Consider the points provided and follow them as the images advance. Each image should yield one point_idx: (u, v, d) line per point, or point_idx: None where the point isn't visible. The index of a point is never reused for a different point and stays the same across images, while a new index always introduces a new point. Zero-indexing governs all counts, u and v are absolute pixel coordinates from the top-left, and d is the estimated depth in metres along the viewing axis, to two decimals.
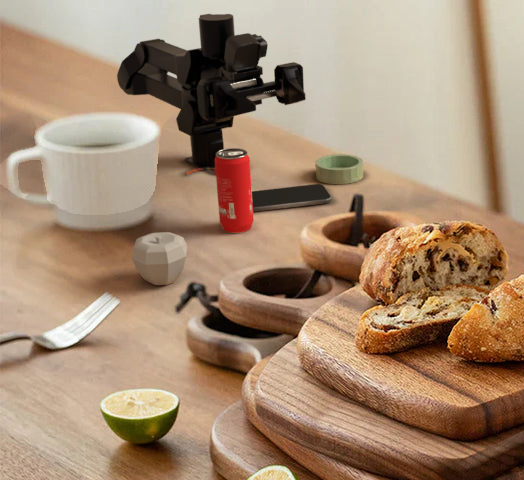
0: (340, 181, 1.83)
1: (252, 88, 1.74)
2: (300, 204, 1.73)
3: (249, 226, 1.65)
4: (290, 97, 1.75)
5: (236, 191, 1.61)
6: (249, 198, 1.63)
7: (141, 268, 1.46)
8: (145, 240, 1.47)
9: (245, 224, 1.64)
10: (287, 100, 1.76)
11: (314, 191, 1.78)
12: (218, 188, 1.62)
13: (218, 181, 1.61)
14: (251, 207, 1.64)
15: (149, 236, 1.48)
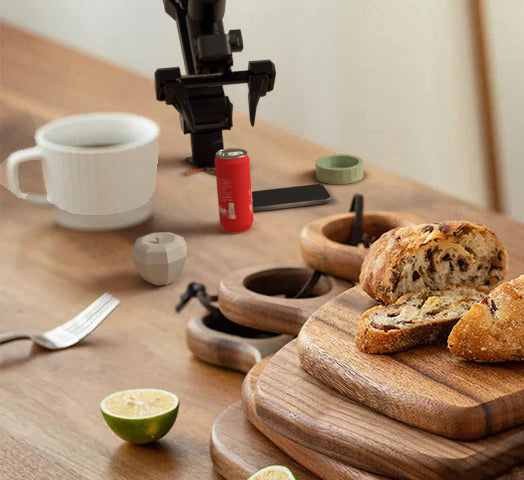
0: (340, 181, 1.83)
1: (215, 80, 1.69)
2: (300, 204, 1.73)
3: (249, 226, 1.65)
4: None
5: (236, 191, 1.61)
6: (249, 198, 1.63)
7: (141, 268, 1.46)
8: (145, 240, 1.47)
9: (245, 224, 1.64)
10: (248, 99, 1.71)
11: (314, 191, 1.78)
12: (218, 188, 1.62)
13: (218, 181, 1.61)
14: (251, 207, 1.64)
15: (149, 236, 1.48)
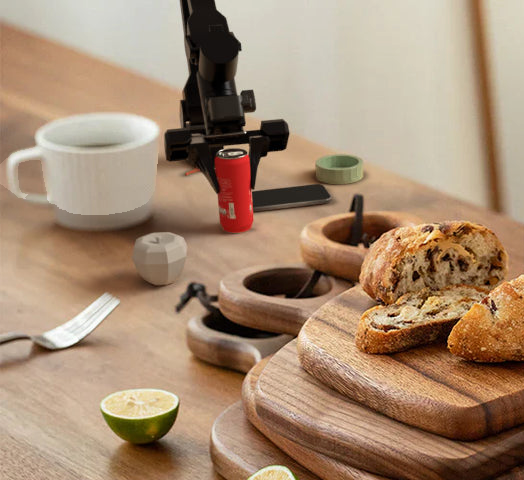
0: (340, 181, 1.83)
1: (226, 141, 1.64)
2: (300, 204, 1.73)
3: (249, 226, 1.65)
4: None
5: (236, 191, 1.61)
6: (249, 198, 1.63)
7: (141, 268, 1.46)
8: (145, 240, 1.47)
9: (245, 224, 1.64)
10: None
11: (314, 191, 1.78)
12: None
13: (218, 181, 1.61)
14: (251, 207, 1.64)
15: (149, 236, 1.48)
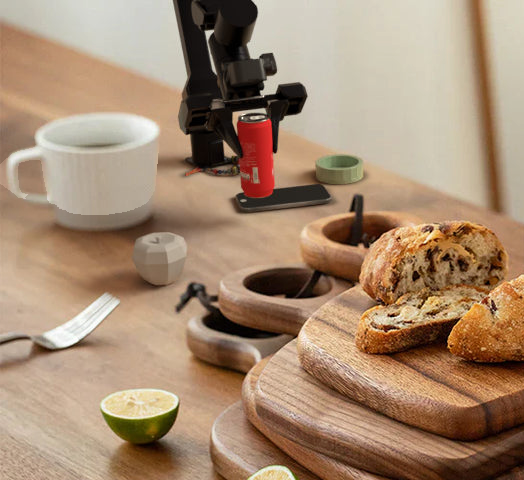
0: (340, 181, 1.83)
1: (245, 105, 1.64)
2: (300, 204, 1.73)
3: (271, 190, 1.65)
4: None
5: (260, 156, 1.61)
6: (272, 162, 1.63)
7: (141, 268, 1.46)
8: (145, 240, 1.47)
9: (268, 188, 1.64)
10: None
11: (314, 191, 1.78)
12: None
13: (241, 146, 1.61)
14: (273, 171, 1.64)
15: (149, 236, 1.48)
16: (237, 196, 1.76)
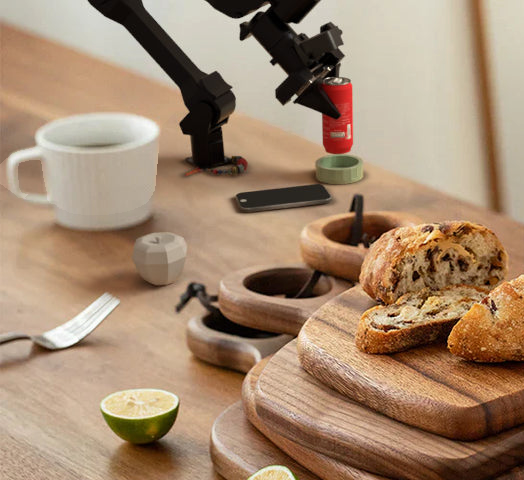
0: (340, 181, 1.83)
1: (313, 75, 1.80)
2: (300, 204, 1.73)
3: None
4: None
5: (351, 112, 1.80)
6: None
7: (141, 268, 1.46)
8: (145, 240, 1.47)
9: None
10: None
11: (314, 191, 1.78)
12: None
13: (337, 108, 1.78)
14: None
15: (149, 236, 1.48)
16: (237, 196, 1.76)
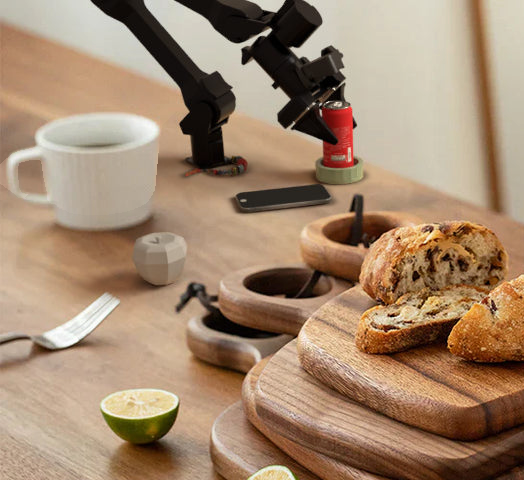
0: (340, 181, 1.83)
1: (315, 98, 1.81)
2: (300, 204, 1.73)
3: None
4: None
5: (351, 136, 1.82)
6: None
7: (141, 268, 1.46)
8: (145, 240, 1.47)
9: (353, 164, 1.86)
10: None
11: (314, 191, 1.78)
12: None
13: (337, 131, 1.80)
14: None
15: (149, 236, 1.48)
16: (237, 196, 1.76)
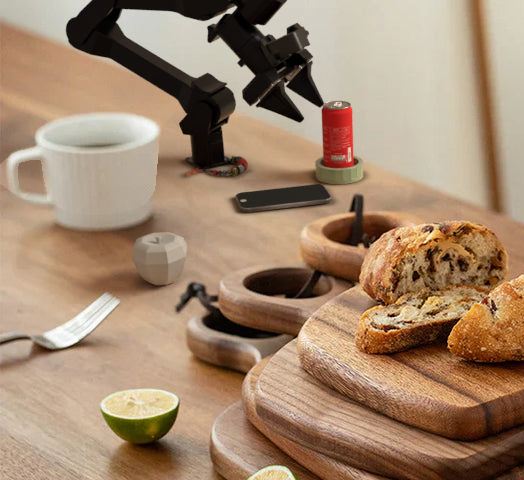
0: (340, 181, 1.83)
1: (281, 75, 1.82)
2: (300, 204, 1.73)
3: None
4: (301, 90, 1.87)
5: (351, 136, 1.82)
6: None
7: (141, 268, 1.46)
8: (145, 240, 1.47)
9: (353, 164, 1.86)
10: (294, 88, 1.87)
11: (314, 191, 1.78)
12: (336, 138, 1.81)
13: (337, 131, 1.80)
14: None
15: (149, 236, 1.48)
16: (237, 196, 1.76)
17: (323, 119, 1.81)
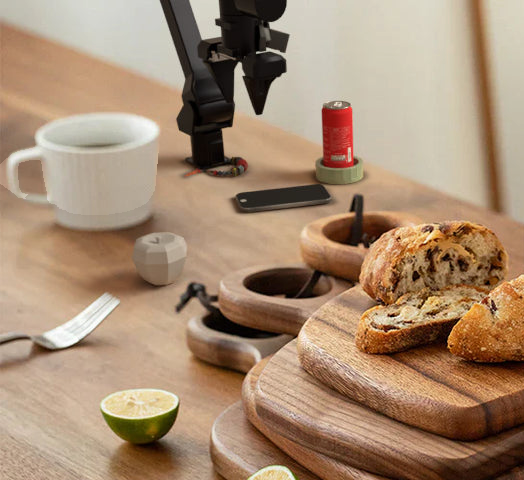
0: (340, 181, 1.83)
1: None
2: (300, 204, 1.73)
3: None
4: (221, 77, 1.79)
5: (351, 136, 1.82)
6: None
7: (141, 268, 1.46)
8: (145, 240, 1.47)
9: (353, 164, 1.86)
10: (217, 71, 1.78)
11: (314, 191, 1.78)
12: (336, 138, 1.81)
13: (337, 131, 1.80)
14: None
15: (149, 236, 1.48)
16: (237, 196, 1.76)
17: (323, 119, 1.81)
